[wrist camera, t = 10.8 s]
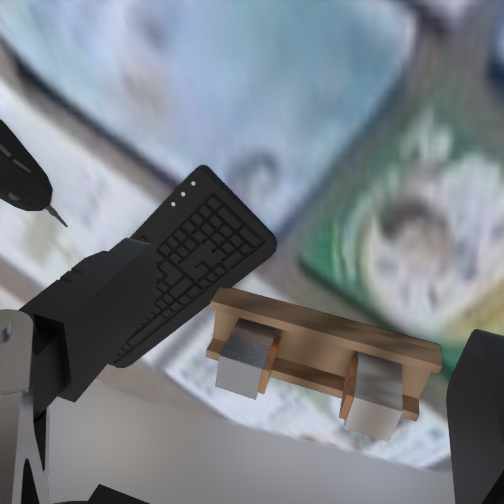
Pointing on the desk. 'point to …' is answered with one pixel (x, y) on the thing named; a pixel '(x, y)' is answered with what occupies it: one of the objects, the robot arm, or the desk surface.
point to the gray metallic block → (248, 358)
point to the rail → (337, 359)
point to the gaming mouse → (22, 176)
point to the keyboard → (195, 255)
